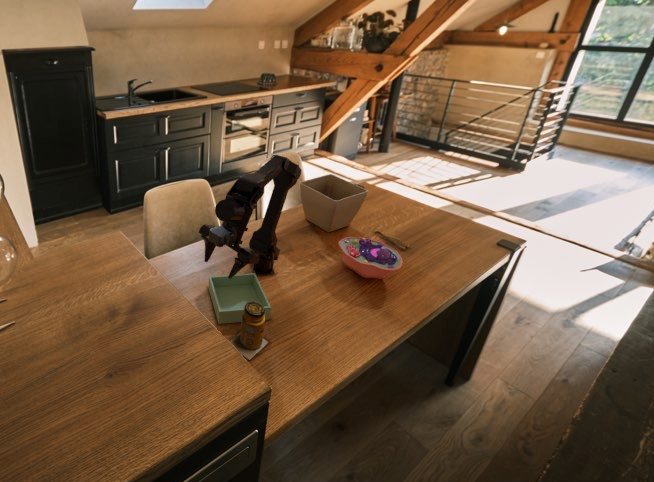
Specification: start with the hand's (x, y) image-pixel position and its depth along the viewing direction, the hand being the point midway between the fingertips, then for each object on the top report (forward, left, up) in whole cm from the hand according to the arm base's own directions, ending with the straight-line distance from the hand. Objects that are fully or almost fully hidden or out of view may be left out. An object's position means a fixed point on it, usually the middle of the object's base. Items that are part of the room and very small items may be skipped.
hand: (217, 270), depth 110 cm
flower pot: (-57, -43, -14) cm, 73 cm away
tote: (-7, -1, -14) cm, 16 cm away
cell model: (-55, -11, -14) cm, 58 cm away
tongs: (-75, -27, -14) cm, 81 cm away
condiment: (-6, +14, -14) cm, 21 cm away
